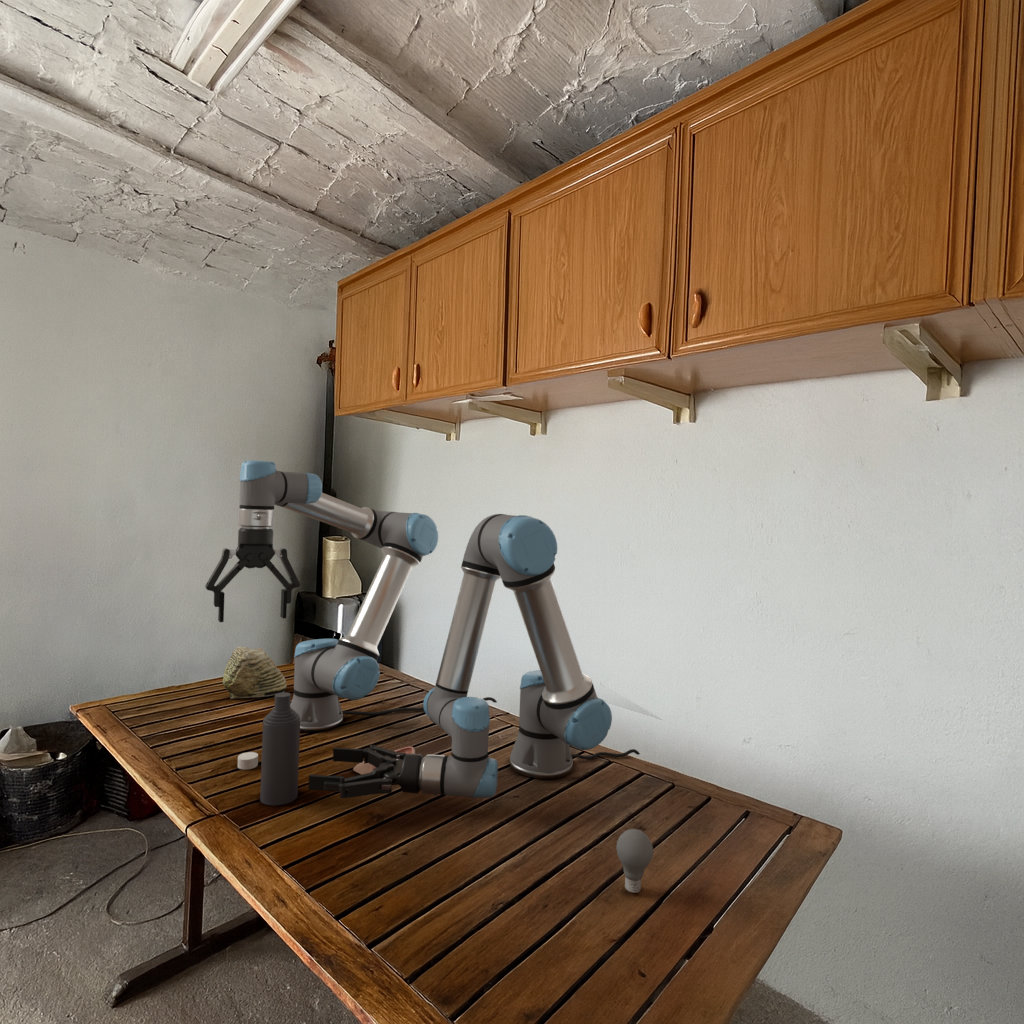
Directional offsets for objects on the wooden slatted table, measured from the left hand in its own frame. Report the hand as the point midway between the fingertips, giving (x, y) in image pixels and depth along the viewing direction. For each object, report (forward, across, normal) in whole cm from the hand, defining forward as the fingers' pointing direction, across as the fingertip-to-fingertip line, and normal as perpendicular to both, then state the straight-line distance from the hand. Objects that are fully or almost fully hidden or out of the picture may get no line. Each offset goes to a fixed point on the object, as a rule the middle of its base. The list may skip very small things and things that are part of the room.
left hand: (252, 619), depth 147 cm
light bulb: (+34, +47, -79) cm, 98 cm away
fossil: (+34, +11, +53) cm, 64 cm away
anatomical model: (+34, +28, -16) cm, 47 cm away
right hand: (+27, +10, -24) cm, 38 cm away
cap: (+32, 0, 0) cm, 32 cm away
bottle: (+34, +3, -19) cm, 39 cm away
